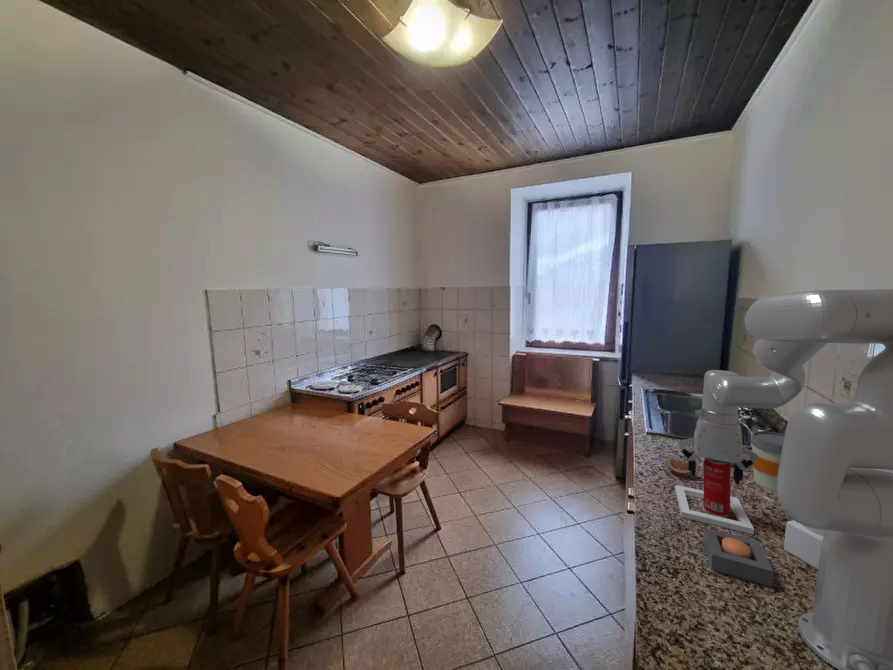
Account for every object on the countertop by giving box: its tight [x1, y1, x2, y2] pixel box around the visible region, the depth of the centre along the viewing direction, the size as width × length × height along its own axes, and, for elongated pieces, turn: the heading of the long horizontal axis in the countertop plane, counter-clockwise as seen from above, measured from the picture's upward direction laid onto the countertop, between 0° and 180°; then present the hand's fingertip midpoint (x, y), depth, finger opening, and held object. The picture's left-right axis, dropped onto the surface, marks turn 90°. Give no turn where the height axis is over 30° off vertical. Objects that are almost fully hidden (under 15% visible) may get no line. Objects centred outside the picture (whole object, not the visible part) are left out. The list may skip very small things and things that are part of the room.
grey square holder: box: [702, 527, 775, 588], centre depth 77 cm, size 10×10×4 cm
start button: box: [722, 537, 751, 559], centre depth 77 cm, size 5×5×2 cm
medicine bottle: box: [783, 519, 827, 570], centre depth 78 cm, size 7×7×12 cm
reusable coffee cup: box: [750, 430, 785, 492], centre depth 108 cm, size 13×13×15 cm
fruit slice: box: [665, 455, 698, 476], centre depth 115 cm, size 8×7×5 cm
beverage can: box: [703, 458, 732, 518], centre depth 95 cm, size 6×6×15 cm
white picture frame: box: [674, 484, 755, 535], centre depth 96 cm, size 15×15×2 cm
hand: (713, 477), depth 95 cm, fingers open, 9 cm apart
